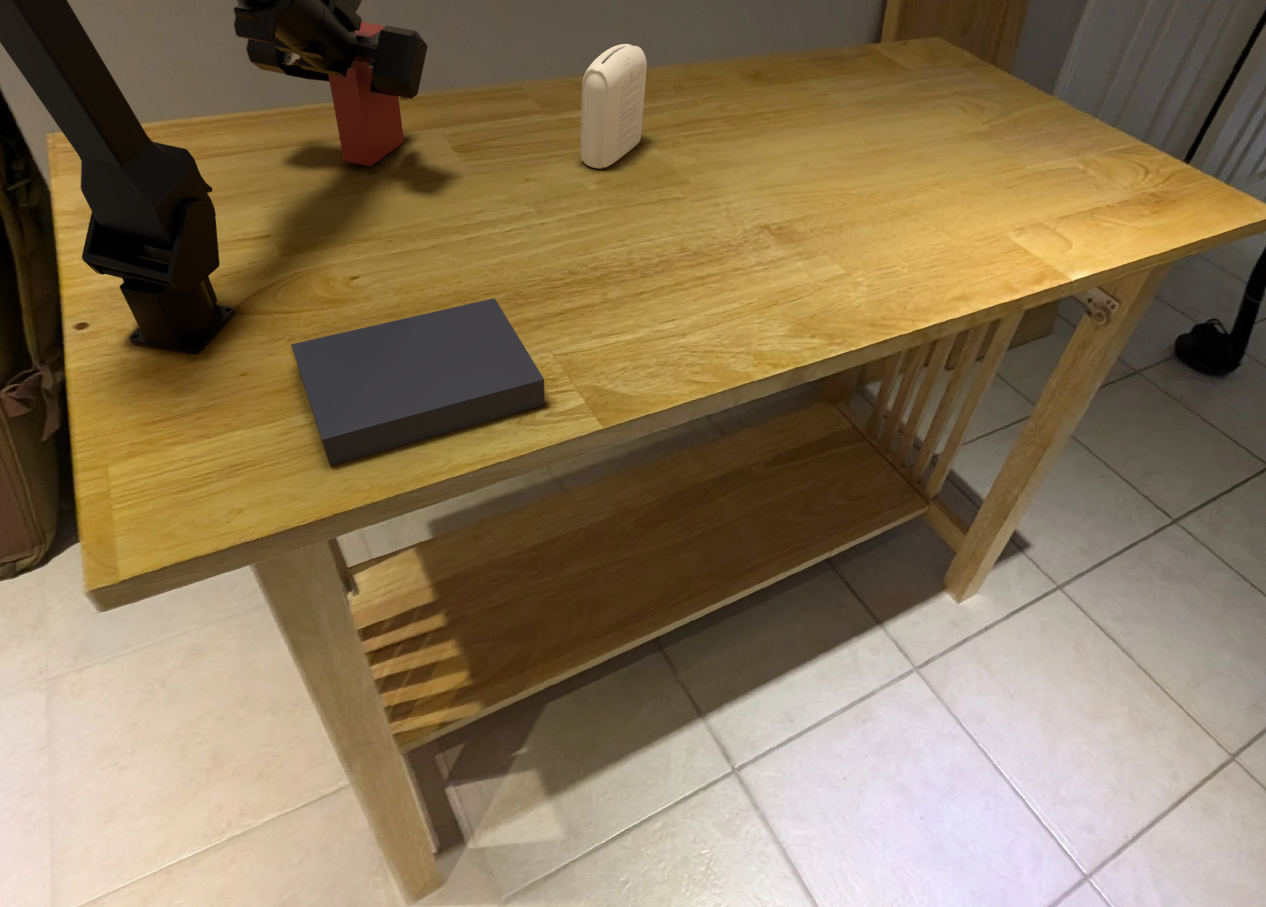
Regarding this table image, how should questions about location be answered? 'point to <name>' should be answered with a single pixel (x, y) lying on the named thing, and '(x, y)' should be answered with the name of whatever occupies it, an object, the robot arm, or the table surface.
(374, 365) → the dark gray flat block
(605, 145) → the photo printer
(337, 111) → the small book
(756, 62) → the table surface
